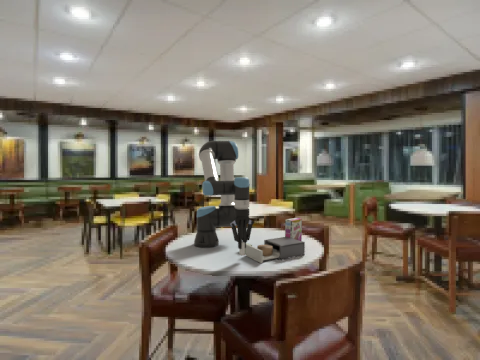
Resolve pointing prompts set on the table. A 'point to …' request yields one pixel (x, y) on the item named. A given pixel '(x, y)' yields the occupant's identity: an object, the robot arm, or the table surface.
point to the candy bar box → (293, 228)
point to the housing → (287, 247)
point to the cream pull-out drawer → (260, 254)
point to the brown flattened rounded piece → (266, 249)
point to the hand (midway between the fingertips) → (242, 254)
